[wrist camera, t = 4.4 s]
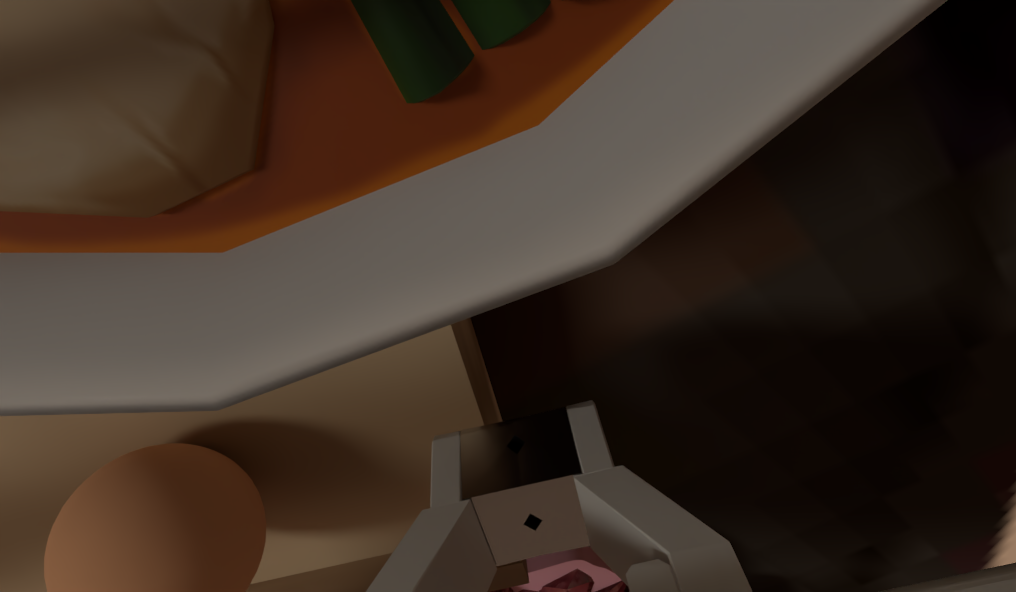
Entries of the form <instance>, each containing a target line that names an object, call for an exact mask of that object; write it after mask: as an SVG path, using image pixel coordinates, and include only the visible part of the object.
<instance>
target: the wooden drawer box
mask: <svg viewBox="0 0 1016 592" xmlns="http://www.w3.org/2000/svg"><path fill="white" fill-rule="evenodd" d="M498 422H502V418H501V415H500V411H499V408H498V405H497V402H496V398H495V395H494V392H493V389H492V386H491V382H490V379H489V376H488V373H487V370H486V366H485V363H484V360H483V357H482V353H481V350H480V347H479V344H478V341H477V337H476V334H475V331H474V328H473V325H472V321H471V318H467V319H465V320H462V321H459V322H456V323H454V324H451V325H448V326H446V327H443V328H440V329H437V330H435V331H432V332H429V333H427V334H424V335H421V336H419V337H416V338H413V339H410V340H408V341H405V342H402V343H400V344H397V345H394V346H392V347H389V348H386V349H383V350H381V351H378V352H375V353H373V354H370V355H367V356H364V357H362V358H359V359H356V360H354V361H351V362H348V363H346V364H343V365H340V366H337V367H335V368H332V369H329V370H327V371H324V372H321V373H318V374H316V375H313V376H310V377H308V378H305V379H302V380H300V381H297V382H294V383H291V384H289V385H286V386H283V387H281V388H278V389H275V390H272V391H270V392H267V393H264V394H262V395H259V396H256V397H254V398H251V399H248V400H245V401H243V402H240V403H237V404H235V405H232V406H229V407H226V408H224V409H221V410H218V411H188V412H148V413H108V414H67V415H27V416H0V592H47V588H46V583H45V578H44V556H45V550H46V545H47V541H48V537H49V534H50V531H51V529H52V526H53V524H54V522H55V520H56V518H57V516H58V514H59V513H60V511H61V509H62V507H63V505H64V504H65V503H66V501H67V500H68V499H69V497H70V496H71V495H72V494H73V492H74V491H75V490H76V489H77V488H78V487H79V486H80V485H81V484H82V483H83V482H84V481H85V480H86V479H87V478H88V477H90V476H91V475H92V474H93V473H94V472H96V471H97V470H98V469H100V468H101V467H103V466H104V465H106V464H107V463H109V462H111V461H113V460H115V459H116V458H118V457H120V456H122V455H125V454H127V453H129V452H132V451H135V450H138V449H141V448H145V447H148V446H154V445H160V444H170V443H183V444H192V445H197V446H202V447H205V448H209V449H211V450H214V451H217V452H219V453H221V454H223V455H225V456H226V457H228V458H230V459H231V460H233V461H234V462H235V463H236V464H238V465H239V466H240V467H241V468H242V469H243V470H244V471H245V472H246V473H247V474H248V476H249V477H250V478H251V479H252V481H253V483H254V485H255V486H256V488H257V490H258V492H259V494H260V497H261V500H262V503H263V506H264V510H265V517H266V542H265V547H264V552H263V555H262V559H261V562H260V565H259V567H258V570H257V572H256V574H255V576H254V578H253V580H252V582H251V583H250V585H249V587H248V589H247V590H246V591H245V592H366V591H367V589H368V588H369V586H370V585H371V583H372V582H373V580H374V579H375V578H376V576H377V575H378V573H379V572H380V570H381V569H382V567H383V566H384V565H385V563H386V562H387V560H388V559H389V557H390V556H391V554H392V553H393V552H394V550H395V549H396V547H397V546H398V544H399V543H400V541H401V540H402V539H403V537H404V536H405V534H406V533H407V531H408V530H409V528H410V527H411V526H412V524H413V523H414V521H415V520H416V518H417V517H418V515H419V514H420V513H421V511H422V510H425V509H429V508H430V494H431V457H432V441H433V438H434V436H436V435H441V434H447V433H452V432H457V431H461V430H463V429H468V428H473V427H478V426H483V425H488V424H493V423H498ZM496 568H497V571H496V573H495V575H494V578H493V580H492V582H491V585H490V587H489V589H488V591H487V592H491V591H496V590H500V589H505V588H509V587H514V586H519V585H523V584H528V583H529V576H528V568H527V561H526V559H524V560H520V561H516V562H512V563H508V564H504V565H500V566H496Z"/></svg>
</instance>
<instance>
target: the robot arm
mask: <svg viewBox="0 0 1016 592" xmlns="http://www.w3.org/2000/svg"><path fill="white" fill-rule="evenodd" d="M566 411H567V412H566ZM587 546H590V547H591V549H592V550H593V551H594V552H595V553H596V554H597V555H598V556H599V557H600V558H601V559H602V560H603V561H604V562H605V563H606V564H607V565H608V566H609V567H610V568H611V570H612V571H613V572H614V573H615V574H616V575H617V576H618V577H619V578H620V579H621V580H622V581H623V582H624V583H625V584H626V585H627V586H628V589H629V592H752V589H751V587H750V585H749V583H748V581H747V578H746V576H745V574H744V572H743V570H742V568H741V565H740V563H739V561H738V559H737V557H736V554H735V552H734V550H733V548H732V546H731V544H730V542H729V541H728V540H726V539H725V538H724V537H722V536H721V535H719V534H718V533H717V532H715V531H714V530H712V529H711V528H710V527H708V526H707V525H705V524H704V523H703V522H701V521H700V520H699V519H697V518H696V517H694V516H693V515H692V514H690V513H689V512H687V511H686V510H685V509H683V508H682V507H680V506H679V505H678V504H676V503H675V502H673V501H672V500H671V499H669V498H668V497H666V496H665V495H664V494H662V493H661V492H660V491H658V490H657V489H655V488H654V487H653V486H651V485H650V484H648V483H647V482H646V481H644V480H643V479H641V478H640V477H639V476H637V475H636V474H634V473H633V472H632V471H630V470H629V469H627V468H626V467H625V466H623V465H621V466H616V467H615V466H614V463H613V460H612V457H611V453H610V450H609V447H608V444H607V441H606V437H605V434H604V431H603V428H602V425H601V421H600V418H599V415H598V412H597V409H596V405H595V403H594V402H593V401H592V400H590V401H585V402H581V403H577V404H573V405H569V406H566V408H565V407H562V408H558V409H553V410H549V411H545V412H541V413H537V414H532V415H528V416H524V417H520V418H516V419H512V420H507V421H502V422H498V423H493V424H488V425H483V426H478V427H473V428H468V429H463V430H461V431H457V432H452V433H447V434H441V435H436V436H434V438H433V441H432V457H431V494H430V508H429V509H425V510H422V511H421V513H420V514H419V515H418V517H417V518H416V520H415V521H414V523H413V524H412V526H411V527H410V528H409V530H408V531H407V533H406V534H405V536H404V537H403V539H402V540H401V541H400V543H399V544H398V546H397V547H396V549H395V550H394V552H393V553H392V554H391V556H390V557H389V559H388V560H387V562H386V563H385V565H384V566H383V567H382V569H381V570H380V572H379V573H378V575H377V576H376V578H375V579H374V580H373V582H372V583H371V585H370V586H369V588H368V589H367V591H366V592H487V591H488V589H489V587H490V585H491V582H492V580H493V578H494V575H495V573H496V571H497V568H496V566H500V565H504V564H508V563H512V562H516V561H520V560H524V559H528V558H532V557H536V556H540V555H545V554H550V553H556V552H561V551H566V550H571V549H577V548H582V547H587ZM880 592H1016V563H1013V564H1008V565H1003V566H998V567H993V568H988V569H984V570H979V571H974V572H969V573H965V574H960V575H955V576H951V577H946V578H941V579H936V580H932V581H927V582H922V583H917V584H913V585H908V586H903V587H898V588H894V589H889V590H884V591H880Z"/></svg>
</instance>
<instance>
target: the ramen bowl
mask: <svg viewBox="0 0 1016 592" xmlns="http://www.w3.org/2000/svg"><path fill="white" fill-rule="evenodd" d="M946 1H947V0H0V416H27V415H67V414H108V413H148V412H188V411H218V410H221V409H224V408H226V407H229V406H232V405H235V404H237V403H240V402H243V401H245V400H248V399H251V398H254V397H256V396H259V395H262V394H264V393H267V392H270V391H272V390H275V389H278V388H281V387H283V386H286V385H289V384H291V383H294V382H297V381H300V380H302V379H305V378H308V377H310V376H313V375H316V374H318V373H321V372H324V371H327V370H329V369H332V368H335V367H337V366H340V365H343V364H346V363H348V362H351V361H354V360H356V359H359V358H362V357H364V356H367V355H370V354H373V353H375V352H378V351H381V350H383V349H386V348H389V347H392V346H394V345H397V344H400V343H402V342H405V341H408V340H410V339H413V338H416V337H419V336H421V335H424V334H427V333H429V332H432V331H435V330H437V329H440V328H443V327H446V326H448V325H451V324H454V323H456V322H459V321H462V320H465V319H467V318H470V317H473V316H475V315H478V314H481V313H483V312H486V311H489V310H492V309H494V308H497V307H500V306H502V305H505V304H508V303H511V302H513V301H516V300H519V299H521V298H524V297H527V296H529V295H532V294H535V293H538V292H540V291H543V290H546V289H548V288H551V287H554V286H557V285H559V284H562V283H565V282H567V281H570V280H573V279H575V278H578V277H581V276H584V275H586V274H589V273H592V272H594V271H597V270H600V269H603V268H605V267H608V266H611V265H613V264H615V263H617V262H618V261H619V260H620V259H622V258H623V257H624V256H625V255H627V254H628V253H629V252H630V251H632V250H633V249H634V248H635V247H637V246H638V245H639V244H640V243H642V242H643V241H644V240H646V239H647V238H648V237H649V236H651V235H652V234H653V233H654V232H656V231H657V230H658V229H659V228H661V227H662V226H663V225H664V224H666V223H667V222H668V221H670V220H671V219H672V218H673V217H675V216H676V215H677V214H678V213H680V212H681V211H682V210H683V209H685V208H686V207H687V206H688V205H690V204H691V203H692V202H693V201H695V200H696V199H697V198H699V197H700V196H701V195H702V194H704V193H705V192H706V191H707V190H709V189H710V188H711V187H712V186H714V185H715V184H716V183H717V182H719V181H720V180H721V179H723V178H724V177H725V176H726V175H728V174H729V173H730V172H731V171H733V170H734V169H735V168H736V167H738V166H739V165H740V164H741V163H743V162H744V161H745V160H746V159H748V158H749V157H750V156H752V155H753V154H754V153H755V152H757V151H758V150H759V149H760V148H762V147H763V146H764V145H765V144H767V143H768V142H769V141H770V140H772V139H773V138H774V137H776V136H777V135H778V134H779V133H781V132H782V131H783V130H784V129H786V128H787V127H788V126H789V125H791V124H792V123H793V122H794V121H796V120H797V119H798V118H800V117H801V116H802V115H803V114H805V113H806V112H807V111H808V110H810V109H811V108H812V107H813V106H815V105H816V104H817V103H818V102H820V101H821V100H822V99H823V98H825V97H826V96H827V95H829V94H830V93H831V92H832V91H834V90H835V89H836V88H837V87H839V86H840V85H841V84H842V83H844V82H845V81H846V80H847V79H849V78H850V77H851V76H853V75H854V74H855V73H856V72H858V71H859V70H860V69H861V68H863V67H864V66H865V65H866V64H868V63H869V62H870V61H871V60H873V59H874V58H875V57H876V56H878V55H879V54H880V53H882V52H883V51H884V50H885V49H887V48H888V47H889V46H890V45H892V44H893V43H894V42H895V41H897V40H898V39H899V38H900V37H902V36H903V35H904V34H906V33H907V32H908V31H909V30H911V29H912V28H913V27H914V26H916V25H917V24H918V23H919V22H921V21H922V20H923V19H924V18H926V17H927V16H928V15H929V14H931V13H932V12H933V11H935V10H936V9H937V8H938V7H940V6H941V5H942V4H943V3H945V2H946Z"/></svg>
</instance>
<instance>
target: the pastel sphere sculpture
mask: <svg viewBox="0 0 1016 592" xmlns="http://www.w3.org/2000/svg"><path fill="white" fill-rule="evenodd" d="M526 561H527V568H528V576H529V583H528V584H523V585H519V586H514V587H509V588H505V589H500V590H496V591H491V592H629V589H628V586H627V585H626V584H625V583H624V582H623V581H622V580H621V579H620V578H619V577H618V576H617V575H616V574H615V573H614V572H613V571H612V570H611V568H610V567H609V566H608V565H607V564H606V563H605V562H604V561H603V560H602V559H601V558H600V557H599V556H598V555H597V554H596V553H595V552H594V551H593V550H592V549H591V547H588V546H587V547H582V548H577V549H571V550H566V551H561V552H556V553H550V554H545V555H540V556H536V557H532V558H528V559H526Z"/></svg>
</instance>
